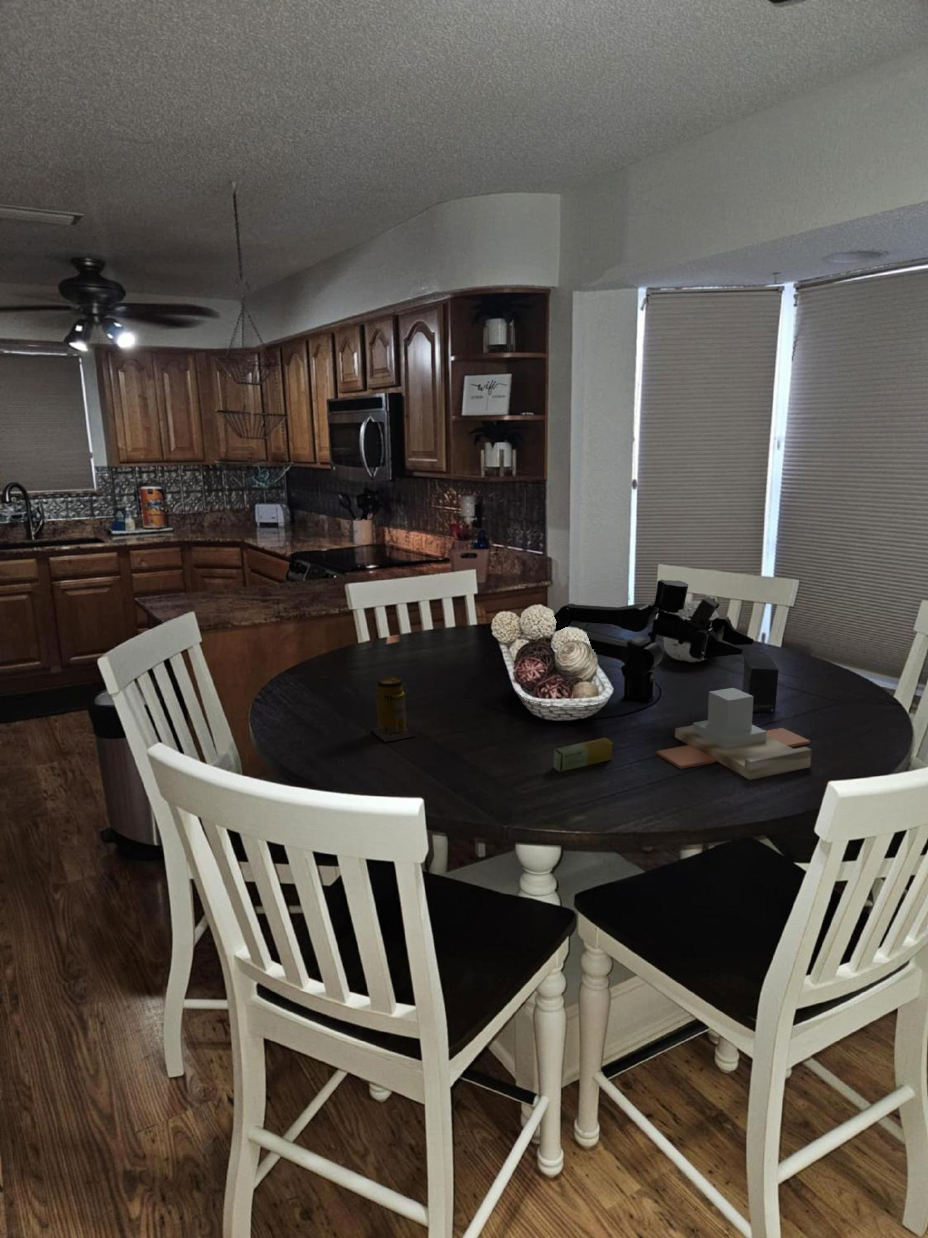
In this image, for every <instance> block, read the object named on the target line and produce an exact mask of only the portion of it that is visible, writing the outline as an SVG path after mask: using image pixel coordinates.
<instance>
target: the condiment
mask: <svg viewBox="0 0 928 1238" xmlns="http://www.w3.org/2000/svg"><path fill="white" fill-rule="evenodd" d="M403 688H404V687H403V681H402V679H401V678H398V677H383V678H381V679H379V680H378V681H377V692H376V710H377V729H378V730H379V732H381V733H382V734H389V735H392V734H400V733H402V732H404V731H405V730H406V729H407V728H406V726H407V725H406V724H407V721H406V720H407V718H406V717H407V716H406V715H407V714H406V699H405V692H404V690H403ZM405 728H406V729H405Z"/></svg>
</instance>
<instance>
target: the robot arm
mask: <svg viewBox="0 0 928 1238" xmlns="http://www.w3.org/2000/svg"><path fill="white" fill-rule="evenodd" d="M656 583H657V584H656V593H655V599H654V601H653V602H651V603H649V604H648V603H637V604H629V605H624V606H619V607H618V606H617V607H616V606H600V605H586V604H576V603H572V602H571V603H568V604H566V605H563V606H561V607H560V608H559V610H558V611H557V612H556V613H555V614H553V616H554V617H555V619H556V621H557V623H556V631H558V630H561V629H563V628H565V627H569V628H570V626H571V625H572V623H573V622H575V623H586V624H587V623H588V624H589V623H590V624H602V625H612V626H615V627H618V628H620V629H622V630H625V631H629V632H634V633H640V632H642V631H644V630H646V629H648V628H649V627H651V626H652V627H651V631H649V632H647V636H648V637H649V639H647V638H643V637H641V636H635V637H633V638H631V639H629V640H628V641H627V642H625V641H621V640H617V639H613V638H606V637H603V636H599V635H598V636H597V635H594V634H589V633H586V634H587V636H588V638H589V641H590V644H591V646H592V649H594V652H596V654H595V655H596V656H597V655H598V656H600V657H607V658H611V659H614V660H618V661H621V663H623V665H622V666H621V667H620V671H621V673H622V676H623V681H624V682H623V684H624V685H623V687H624V688H623V696H622V698H621V699H622V700H623V701H631V702H632V701H633V702H639V703H640V702H641V703H642V702H643V703H650V702H651V700H652V699H653V698H654V697H655V696H656V679H655V678H654V672H653V671H654V670H655V669H656V666H657V665H658V664H660V663H661V662H662V661H663V657H664V652H663V649H662V648H661V646H660V644H658V643H657V642H658V641H659V640H660V638H661V637H663V638H664V637H666V638H670V639H674V640H677V641H678V644H684V643H688V644H691V645H690V650H689V654H690V655H691V657H692V658H695V659H698V660H701V659H702V658H704V659H705V660H708V659H712V658H719V657H726V656H728V657H729V656H734V655H742V654H743V652H744V649H743V648H741V647H740V646H745V645H753V644H754V642H755V640H754V638H752V637H750V636H748V635H747V634H745V633H743V632H742V631H740V630H738V629H736V628H735V627H734V625H733V624H732V621H731V619H730V616H727V615H723V614H720V615H719V617H717V618H715V619H714V620H712V619H710V617H711V616H712V614H713V613H714V611H717V610H716V609H718V608H719V607H720V604H721V603H720V602H718V601H716V598H715V597H711V596H706V597H703V598H702V599H701V601H700V602H701V603H699V606H698V607H697V609H696V610H695V612H694V614H693V615H690V616H688V617H684V616H680V615H676V614H672V613H678V612H679V610H682V609H684V605H685V602H686V599H687V593H688V590H689V589H688V588H689V584H688V583H687V582H685V581H681V580H678V579H677V580H672V579H670V580H669V579H666V580H665V579H660V580H658V581H657V582H656ZM669 612H670V613H669ZM656 615H657V617H656ZM711 623H712V624H711ZM710 625H711V627H710ZM702 652H704V654H703V653H702ZM701 661H702V660H701Z"/></svg>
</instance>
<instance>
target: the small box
mask: <svg viewBox="0 0 928 1238" xmlns="http://www.w3.org/2000/svg"><path fill="white" fill-rule="evenodd" d="M743 658H744V659H743V675H742V686H741V687H742V688H741V689H742V690H741V691H742V692H745V693H747V694H749V695H752V696H753V713H765V714H766V713H769V714H775V713H776V708H777V693H778V682H779V681H778V680H779V668H778V666H777V665H776V664H775V662H774V661H773V658H772V657H768V656H767V657H765V656H753V655H752V656H749V655H745V656H744V657H743Z"/></svg>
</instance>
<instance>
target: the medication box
mask: <svg viewBox="0 0 928 1238" xmlns="http://www.w3.org/2000/svg"><path fill="white" fill-rule="evenodd" d="M553 754H554V755H553V765H552V766H553V769H554V770H555V771H557V772H560V773H561V772H566V771H570V770H573V769H579V768H583V767H586V766H590V765H594V764H599V763H603V762H606V761H607V762H608V761H611V760H612V758H613V757H612V754H613V742H612V741H611V740H610V739H609V738H607V737H602V738H598V739H593V740H592V739H591V740H589V741H584V742H579V743H576V744H570V745H567V746H562V747H559V748H557V747H556V748H554V749H553Z"/></svg>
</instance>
